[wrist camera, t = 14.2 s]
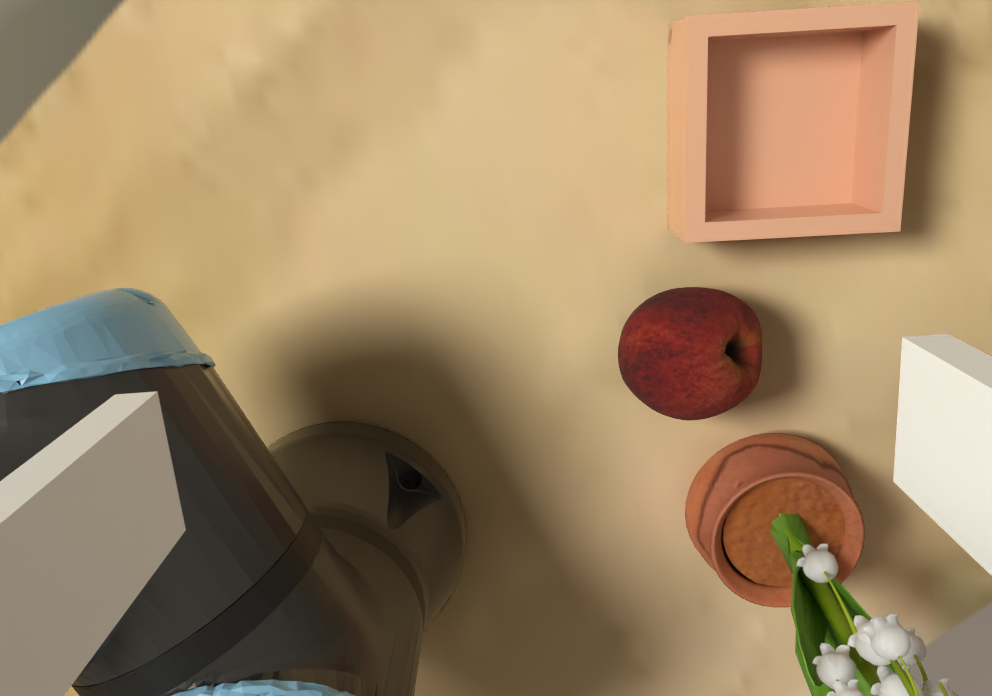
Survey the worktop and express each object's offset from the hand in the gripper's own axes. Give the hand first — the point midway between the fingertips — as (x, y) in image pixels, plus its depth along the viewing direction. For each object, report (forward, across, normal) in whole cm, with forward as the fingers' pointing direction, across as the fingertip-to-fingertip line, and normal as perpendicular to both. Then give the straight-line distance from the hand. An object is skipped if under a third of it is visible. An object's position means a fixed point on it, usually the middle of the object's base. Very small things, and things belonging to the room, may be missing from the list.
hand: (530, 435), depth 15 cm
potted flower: (+34, +14, -18) cm, 42 cm away
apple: (+34, +9, -8) cm, 37 cm away
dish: (+34, +15, +3) cm, 37 cm away
